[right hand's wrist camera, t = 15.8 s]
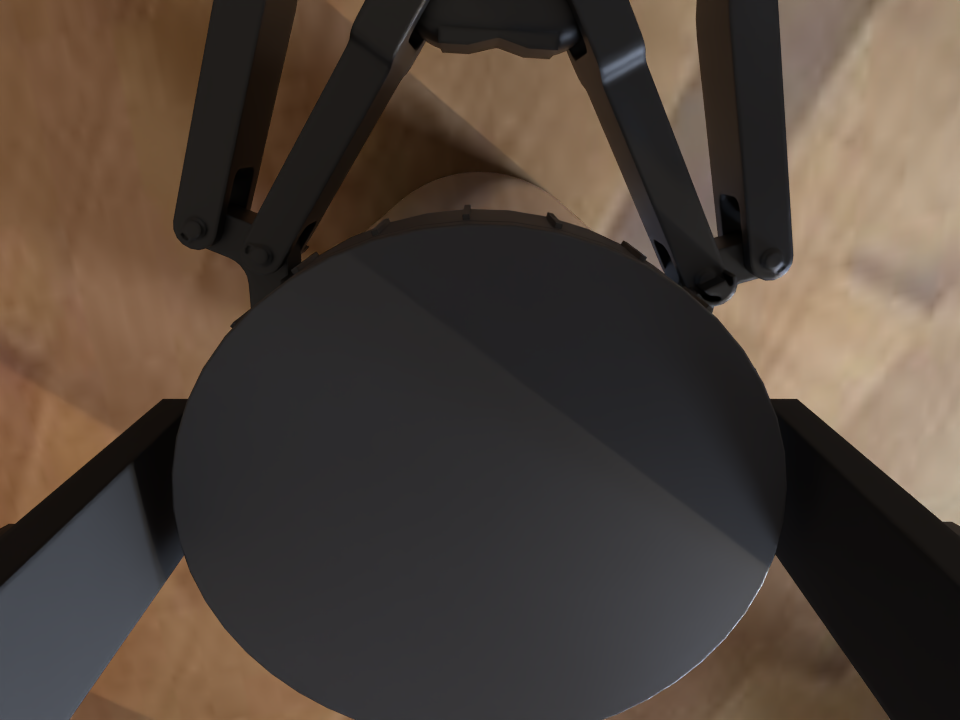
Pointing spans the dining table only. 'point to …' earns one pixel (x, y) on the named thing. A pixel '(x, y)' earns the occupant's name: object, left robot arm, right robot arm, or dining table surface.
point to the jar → (479, 197)
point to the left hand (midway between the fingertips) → (473, 461)
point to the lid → (479, 474)
